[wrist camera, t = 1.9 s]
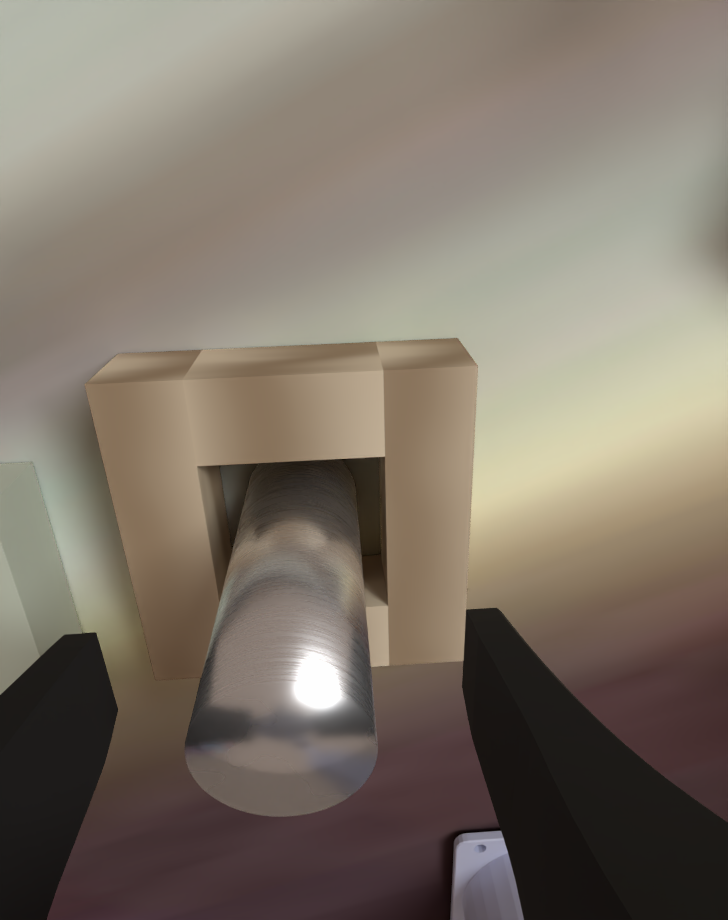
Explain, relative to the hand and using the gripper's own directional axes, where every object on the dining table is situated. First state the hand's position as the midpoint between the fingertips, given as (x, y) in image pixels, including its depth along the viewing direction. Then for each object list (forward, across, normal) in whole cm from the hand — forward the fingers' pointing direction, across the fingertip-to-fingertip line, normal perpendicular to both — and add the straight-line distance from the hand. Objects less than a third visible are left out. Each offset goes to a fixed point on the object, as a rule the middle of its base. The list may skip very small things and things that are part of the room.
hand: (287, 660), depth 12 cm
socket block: (+7, 0, 0) cm, 7 cm away
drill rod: (+7, 0, 0) cm, 7 cm away
